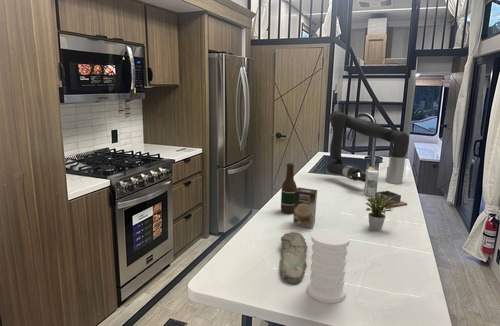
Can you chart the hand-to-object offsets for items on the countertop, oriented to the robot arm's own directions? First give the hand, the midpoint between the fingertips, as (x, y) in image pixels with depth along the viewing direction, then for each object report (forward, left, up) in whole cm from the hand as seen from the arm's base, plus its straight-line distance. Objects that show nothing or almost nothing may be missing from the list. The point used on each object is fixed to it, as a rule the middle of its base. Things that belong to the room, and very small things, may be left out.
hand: (370, 179), depth 202 cm
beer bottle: (+6, -58, -9) cm, 59 cm away
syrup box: (0, 0, -9) cm, 9 cm away
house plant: (+39, -34, -9) cm, 53 cm away
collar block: (+14, -1, -10) cm, 17 cm away
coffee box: (+23, -60, -9) cm, 65 cm away
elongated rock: (+48, -81, -10) cm, 95 cm away
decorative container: (+70, -83, -9) cm, 109 cm away
